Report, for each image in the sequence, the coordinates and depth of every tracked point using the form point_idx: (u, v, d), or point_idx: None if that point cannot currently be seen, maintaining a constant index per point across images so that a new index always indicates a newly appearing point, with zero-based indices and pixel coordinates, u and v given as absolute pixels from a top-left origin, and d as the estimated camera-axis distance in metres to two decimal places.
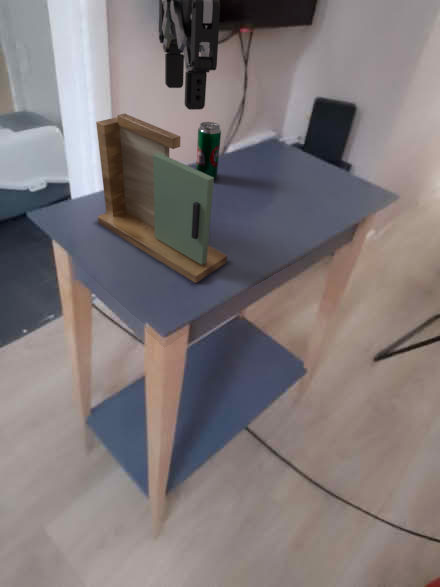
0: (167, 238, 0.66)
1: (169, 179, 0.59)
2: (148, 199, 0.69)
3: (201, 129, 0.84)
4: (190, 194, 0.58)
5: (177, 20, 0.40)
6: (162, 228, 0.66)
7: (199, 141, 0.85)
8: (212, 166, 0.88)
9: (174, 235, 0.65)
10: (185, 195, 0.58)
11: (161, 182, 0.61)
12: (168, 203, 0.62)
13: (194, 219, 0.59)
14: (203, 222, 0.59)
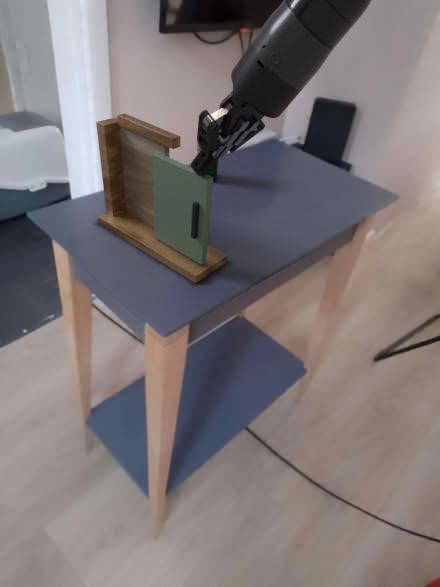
0: (166, 238, 0.66)
1: (168, 179, 0.59)
2: (148, 199, 0.69)
3: None
4: (189, 194, 0.58)
5: None
6: (161, 228, 0.66)
7: None
8: None
9: (173, 235, 0.65)
10: (185, 195, 0.59)
11: (160, 182, 0.61)
12: (168, 202, 0.62)
13: (193, 219, 0.59)
14: (202, 221, 0.59)
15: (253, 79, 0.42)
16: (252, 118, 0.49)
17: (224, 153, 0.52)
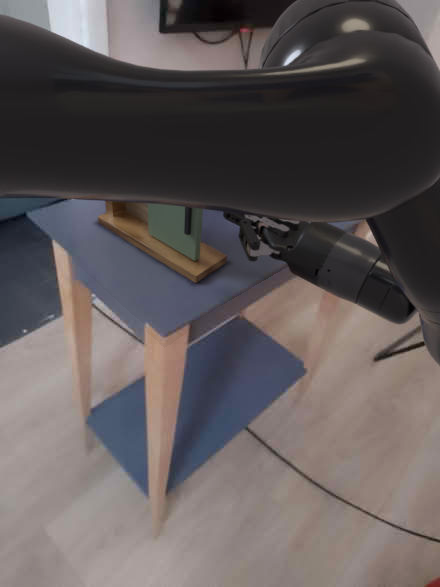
0: (160, 234, 0.67)
1: None
2: None
3: None
4: None
5: (272, 226, 0.50)
6: (155, 225, 0.67)
7: None
8: None
9: (167, 231, 0.65)
10: None
11: None
12: None
13: (186, 215, 0.59)
14: (195, 218, 0.59)
15: (304, 268, 0.47)
16: None
17: None
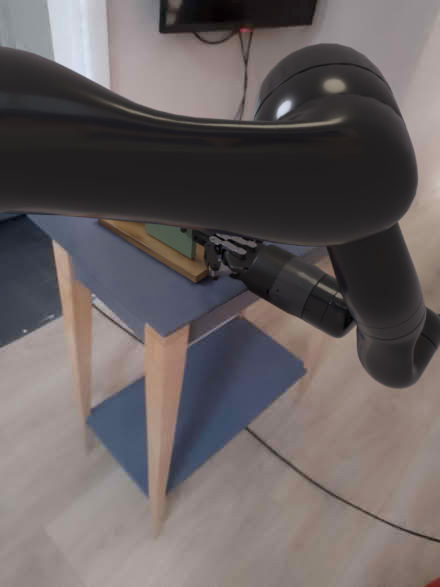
0: (157, 232, 0.67)
1: None
2: None
3: None
4: None
5: (232, 249, 0.56)
6: None
7: None
8: None
9: (164, 229, 0.66)
10: None
11: None
12: None
13: None
14: None
15: (258, 288, 0.53)
16: None
17: None
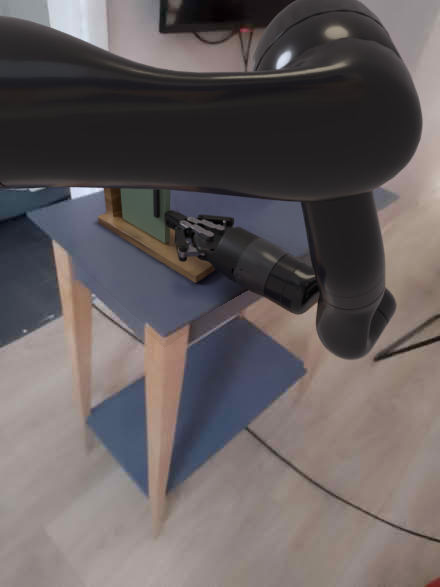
0: (133, 218, 0.70)
1: None
2: None
3: None
4: None
5: (200, 232, 0.59)
6: (128, 209, 0.70)
7: None
8: None
9: (139, 215, 0.68)
10: None
11: None
12: None
13: (155, 198, 0.62)
14: (163, 201, 0.62)
15: (223, 268, 0.56)
16: None
17: None
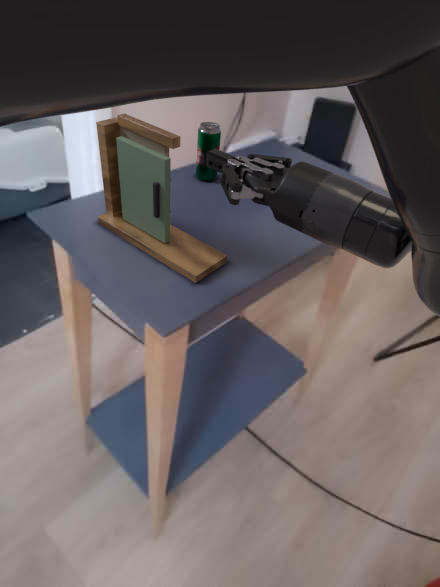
0: (133, 218, 0.70)
1: (131, 161, 0.63)
2: None
3: (201, 129, 0.84)
4: (150, 175, 0.61)
5: (256, 169, 0.47)
6: (128, 209, 0.70)
7: (199, 141, 0.85)
8: None
9: (139, 215, 0.68)
10: (146, 176, 0.62)
11: (125, 164, 0.64)
12: (132, 184, 0.65)
13: (154, 198, 0.62)
14: (163, 201, 0.62)
15: (288, 211, 0.44)
16: None
17: (238, 176, 0.52)
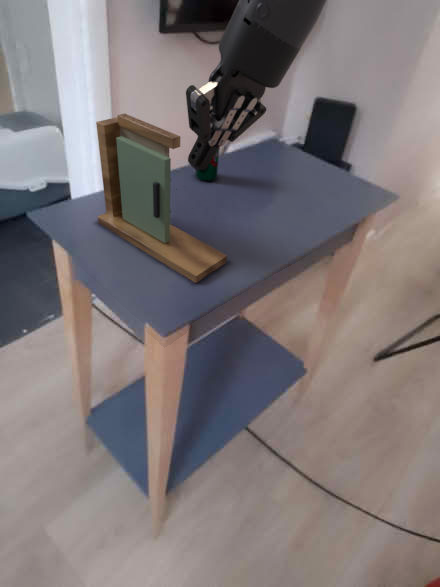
0: (133, 218, 0.70)
1: (131, 161, 0.63)
2: None
3: None
4: (150, 175, 0.61)
5: None
6: (128, 209, 0.70)
7: None
8: (212, 166, 0.88)
9: (139, 215, 0.68)
10: (146, 176, 0.62)
11: (125, 164, 0.64)
12: (132, 184, 0.65)
13: (154, 198, 0.62)
14: (163, 201, 0.62)
15: (241, 40, 0.37)
16: (248, 94, 0.43)
17: (222, 141, 0.47)
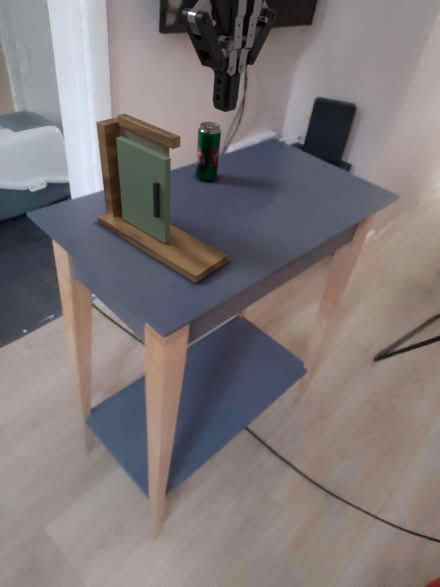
0: (133, 218, 0.70)
1: (131, 161, 0.63)
2: None
3: (201, 129, 0.84)
4: (150, 175, 0.61)
5: None
6: (128, 209, 0.70)
7: (199, 141, 0.85)
8: (212, 166, 0.88)
9: (139, 215, 0.68)
10: (146, 176, 0.62)
11: (125, 164, 0.64)
12: (132, 184, 0.65)
13: (154, 198, 0.62)
14: (163, 201, 0.62)
15: None
16: None
17: (241, 65, 0.42)
